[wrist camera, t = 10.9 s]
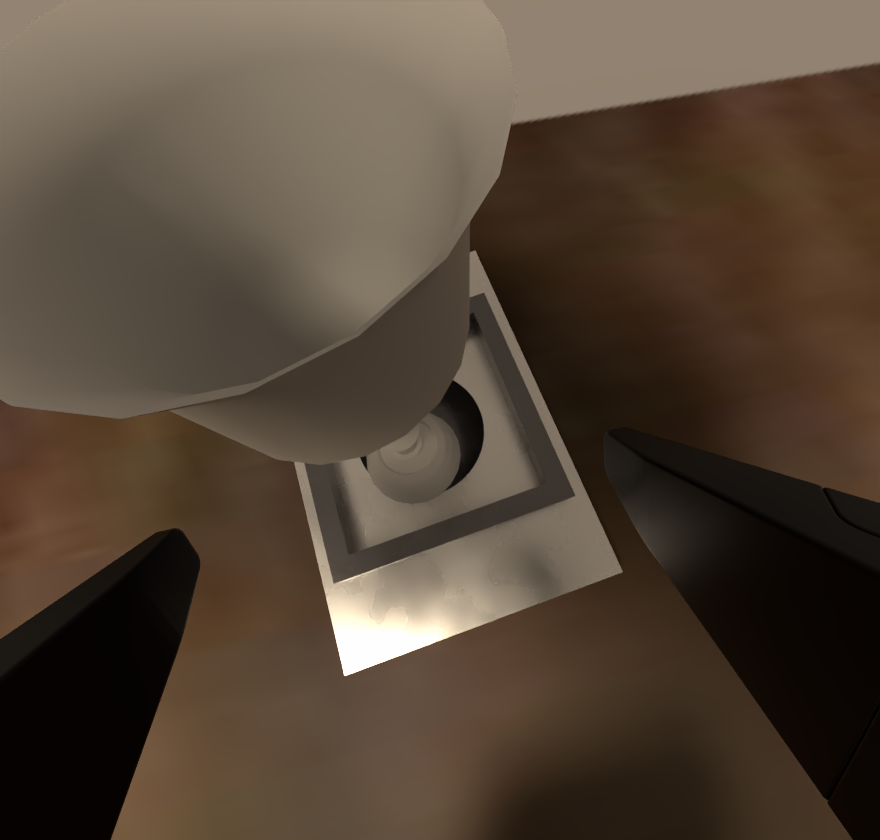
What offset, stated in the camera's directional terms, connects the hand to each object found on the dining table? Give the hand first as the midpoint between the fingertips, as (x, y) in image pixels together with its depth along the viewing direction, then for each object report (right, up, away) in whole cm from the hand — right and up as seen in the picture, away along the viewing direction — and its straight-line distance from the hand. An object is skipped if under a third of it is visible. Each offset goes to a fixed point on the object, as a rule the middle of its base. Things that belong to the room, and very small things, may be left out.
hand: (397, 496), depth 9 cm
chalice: (-1, 0, +13) cm, 13 cm away
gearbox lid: (0, +1, +15) cm, 14 cm away
